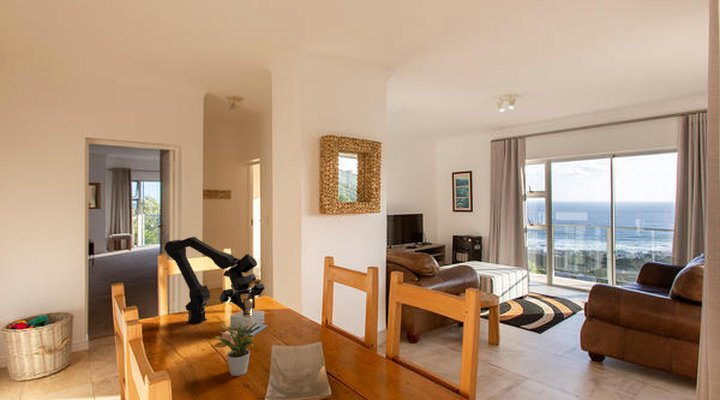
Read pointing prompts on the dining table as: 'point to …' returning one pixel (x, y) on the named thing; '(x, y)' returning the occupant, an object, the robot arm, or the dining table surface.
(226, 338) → the visible block
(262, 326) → the mat
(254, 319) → the cover
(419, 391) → the dining table surface
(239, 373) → the house plant
